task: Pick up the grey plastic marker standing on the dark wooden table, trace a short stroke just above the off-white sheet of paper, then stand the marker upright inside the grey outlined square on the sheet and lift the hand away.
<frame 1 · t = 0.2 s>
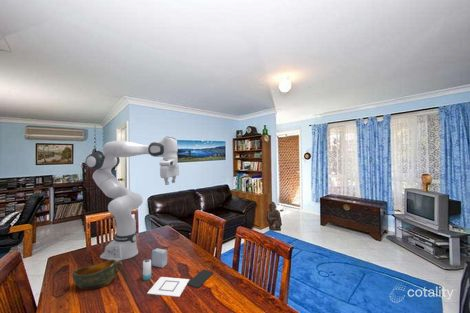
hand: (170, 183, 128), 47 cm above the table, fingers open, 8 cm apart
medicine box: (159, 265, 120), on the table
paper: (169, 286, 100), on the table
phone: (200, 279, 107), on the table
green oval bowl: (97, 284, 102), on the table
marker: (147, 277, 107), on the table
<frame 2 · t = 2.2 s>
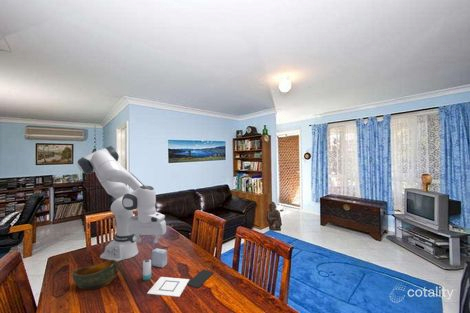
hand: (147, 242, 107), 19 cm above the table, fingers open, 8 cm apart
nothing on the table moved.
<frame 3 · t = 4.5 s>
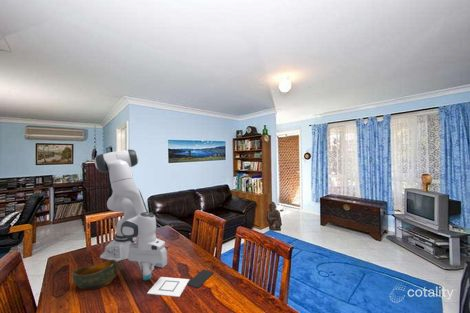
hand: (147, 269, 107), 5 cm above the table, fingers closed on marker, 4 cm apart
marker: (147, 277, 107), on the table, touching gripper
everything else where it was.
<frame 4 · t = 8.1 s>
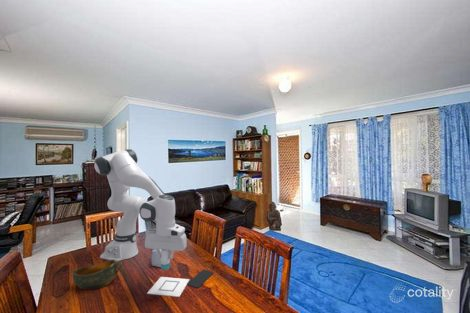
hand: (165, 258, 96), 16 cm above the table, fingers closed on marker, 4 cm apart
marker: (165, 267, 97), point 11 cm above the table, touching gripper
everything else where it was.
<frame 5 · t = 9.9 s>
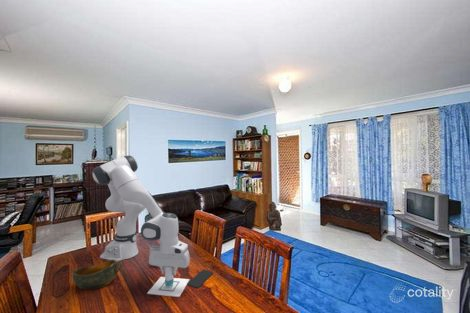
hand: (169, 274, 100), 6 cm above the table, fingers closed on marker, 4 cm apart
marker: (169, 283, 100), point 2 cm above the table, touching gripper
everything else where it was.
when the fingers open (5 cm above the table, at t = 11.7 s): marker stays where it is, resting on paper.
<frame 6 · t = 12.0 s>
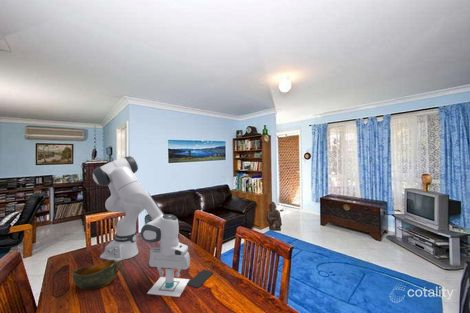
hand: (169, 275, 100), 5 cm above the table, fingers open, 7 cm apart
marker: (169, 285, 100), resting on paper
everything else where it was.
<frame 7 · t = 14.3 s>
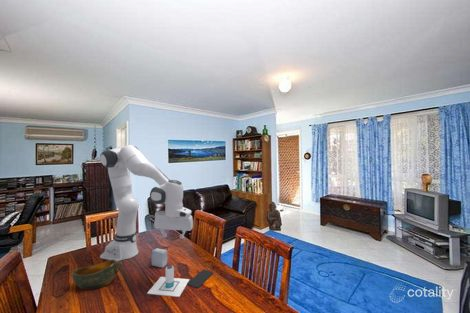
hand: (173, 237, 105), 22 cm above the table, fingers open, 8 cm apart
nothing on the table moved.
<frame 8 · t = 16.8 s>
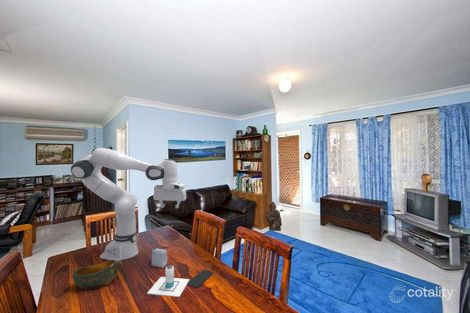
hand: (169, 207, 124), 33 cm above the table, fingers open, 8 cm apart
nothing on the table moved.
at the end: marker 0.2 cm off-centre on the paper, point 0.3 cm above the paper's base; marker tilted 0°; the gripper is holding nothing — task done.
